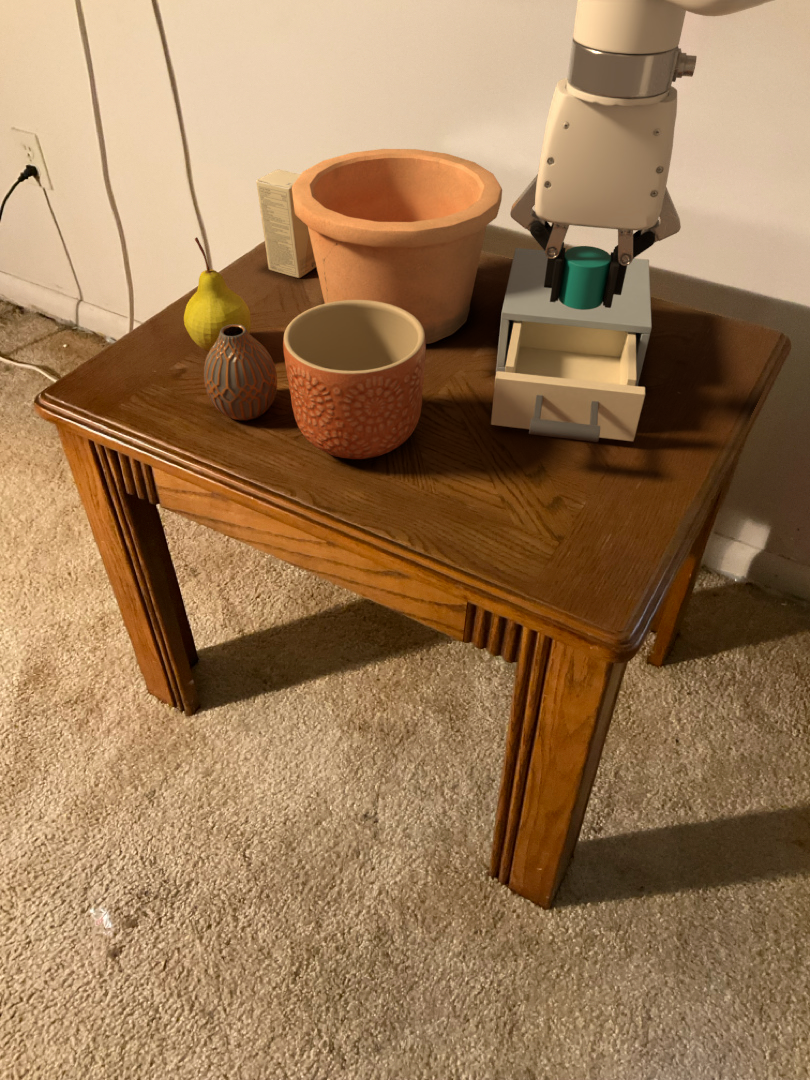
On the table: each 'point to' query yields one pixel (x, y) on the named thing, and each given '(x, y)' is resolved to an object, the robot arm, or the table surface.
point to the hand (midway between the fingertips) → (580, 295)
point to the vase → (240, 374)
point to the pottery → (399, 230)
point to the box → (284, 226)
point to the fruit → (213, 308)
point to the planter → (355, 376)
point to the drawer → (569, 383)
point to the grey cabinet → (534, 305)
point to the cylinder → (584, 277)
